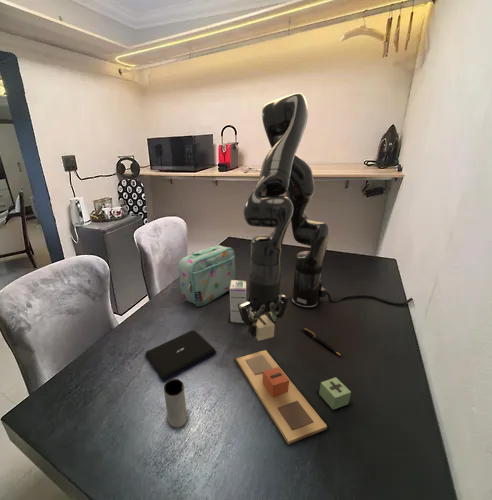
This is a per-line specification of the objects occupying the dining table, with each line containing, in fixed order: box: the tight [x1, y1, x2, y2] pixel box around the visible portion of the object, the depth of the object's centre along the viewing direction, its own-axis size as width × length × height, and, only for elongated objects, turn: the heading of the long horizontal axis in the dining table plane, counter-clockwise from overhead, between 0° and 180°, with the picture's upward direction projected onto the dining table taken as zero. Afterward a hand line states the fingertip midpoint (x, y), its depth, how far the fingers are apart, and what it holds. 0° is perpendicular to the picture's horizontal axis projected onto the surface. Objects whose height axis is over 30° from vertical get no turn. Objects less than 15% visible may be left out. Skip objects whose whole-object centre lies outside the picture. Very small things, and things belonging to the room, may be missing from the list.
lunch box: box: [177, 244, 237, 307], centre depth 110 cm, size 27×10×21 cm, turn 131°
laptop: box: [145, 329, 217, 382], centre depth 82 cm, size 16×20×2 cm
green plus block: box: [318, 376, 352, 411], centre depth 64 cm, size 5×5×4 cm
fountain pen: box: [302, 328, 341, 356], centre depth 83 cm, size 14×1×2 cm, turn 26°
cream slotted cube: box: [255, 314, 276, 342], centre depth 71 cm, size 5×5×4 cm
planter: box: [163, 378, 188, 429], centre depth 61 cm, size 4×4×10 cm
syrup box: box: [229, 279, 248, 324], centre depth 95 cm, size 6×6×14 cm
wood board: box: [235, 349, 328, 445], centre depth 68 cm, size 10×25×1 cm, turn 17°
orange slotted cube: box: [263, 366, 290, 397], centre depth 67 cm, size 5×5×4 cm
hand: (261, 332), depth 71 cm, fingers closed on cream slotted cube, 4 cm apart
